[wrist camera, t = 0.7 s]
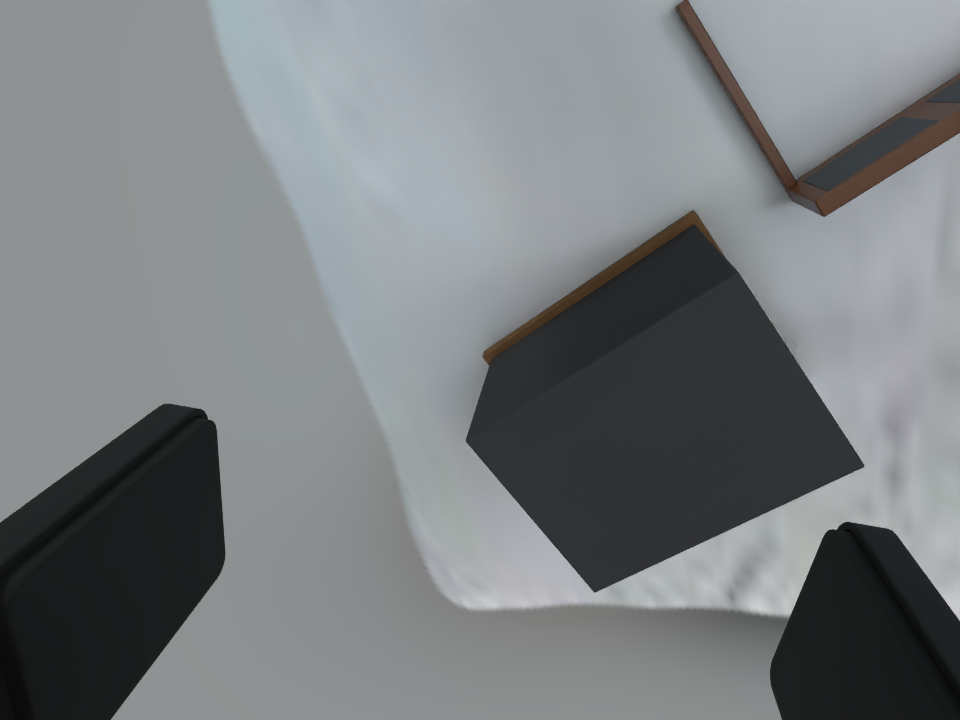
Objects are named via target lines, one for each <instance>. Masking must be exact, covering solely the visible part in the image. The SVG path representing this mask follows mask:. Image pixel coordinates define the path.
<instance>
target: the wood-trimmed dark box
mask: <svg viewBox="0 0 960 720" xmlns="http://www.w3.org/2000/svg"><path fill="white" fill-rule="evenodd" d="M483 358H484V360H485V361H486V362H487V363H488V365H489V369H488V372H487V375H486V378H485V381H484V385H483V388H482V391H481V394H480V397H479V400H478V404H477V407H476V410H475V413H474V416H473V419H472V422H471V426H470V429H469V432H468V435H467V438H466V442H467V443H468V445H469V446H470V447H471V448H472V449H473V450H474V452H475V453H476V454H477V455H478V456H479V457H480V459H481V460H482V461H483V462H484V463H485V464H486V466H487V467H488V468H489V469H490V470H491V472H492V473H493V474H494V475H495V476H496V477H497V479H498V480H499V481H500V482H501V483H502V484H503V486H504V487H505V488H506V489H507V490H508V492H509V493H510V494H511V495H512V496H513V497H514V499H515V500H516V501H517V502H518V503H519V504H520V506H521V507H522V508H523V509H524V510H525V511H526V513H527V514H528V515H529V516H530V517H531V519H532V520H533V521H534V522H535V523H536V524H537V526H538V527H539V528H540V529H541V530H542V531H543V533H544V534H545V535H546V536H547V537H548V539H549V540H550V541H551V542H552V543H553V544H554V546H555V547H556V548H557V549H558V550H559V551H560V553H561V554H562V555H563V556H564V557H565V559H566V560H567V561H568V562H569V563H570V564H571V566H572V567H573V568H574V569H575V570H576V571H577V573H578V574H579V575H580V576H581V577H582V578H583V580H584V581H585V582H586V583H587V584H588V586H589V587H590V588H591V589H592V590H593V591H594V592H597V591H599V590H601V589H604V588H606V587H608V586H610V585H612V584H614V583H616V582H619V581H621V580H623V579H625V578H627V577H629V576H631V575H634V574H636V573H638V572H640V571H642V570H644V569H646V568H649V567H651V566H653V565H655V564H657V563H659V562H661V561H664V560H666V559H668V558H670V557H672V556H674V555H676V554H679V553H681V552H683V551H685V550H687V549H689V548H691V547H694V546H696V545H698V544H700V543H702V542H704V541H706V540H709V539H711V538H713V537H715V536H717V535H719V534H721V533H724V532H726V531H728V530H730V529H732V528H734V527H736V526H739V525H741V524H743V523H745V522H747V521H749V520H751V519H754V518H756V517H758V516H760V515H762V514H764V513H766V512H769V511H771V510H773V509H775V508H777V507H779V506H781V505H784V504H786V503H788V502H790V501H792V500H794V499H796V498H799V497H801V496H803V495H805V494H807V493H809V492H811V491H814V490H816V489H818V488H820V487H822V486H824V485H826V484H829V483H831V482H833V481H835V480H837V479H839V478H841V477H844V476H846V475H848V474H850V473H852V472H854V471H856V470H859V469H861V468H863V467H864V464H863V462H862V461H861V459H860V458H859V456H858V455H857V453H856V451H855V450H854V448H853V447H852V445H851V444H850V442H849V441H848V439H847V438H846V436H845V435H844V433H843V432H842V430H841V429H840V427H839V425H838V424H837V422H836V421H835V419H834V418H833V416H832V415H831V413H830V412H829V410H828V409H827V407H826V406H825V404H824V403H823V401H822V399H821V398H820V396H819V395H818V393H817V392H816V390H815V389H814V387H813V386H812V384H811V383H810V381H809V380H808V378H807V377H806V375H805V373H804V372H803V370H802V369H801V367H800V366H799V364H798V363H797V361H796V360H795V358H794V357H793V355H792V354H791V352H790V351H789V349H788V347H787V346H786V344H785V343H784V341H783V340H782V338H781V337H780V335H779V334H778V332H777V331H776V329H775V328H774V326H773V324H772V323H771V321H770V320H769V318H768V317H767V315H766V314H765V312H764V311H763V309H762V308H761V306H760V305H759V303H758V302H757V300H756V298H755V297H754V295H753V294H752V292H751V291H750V289H749V288H748V286H747V285H746V283H745V282H744V280H743V279H742V277H741V276H740V274H739V272H738V271H737V270H736V269H735V268H734V267H733V266H732V265H731V264H730V263H729V261H728V260H727V259H726V258H725V256H724V255H723V253H722V252H721V250H720V249H719V247H718V246H717V244H716V243H715V241H714V239H713V238H712V236H711V235H710V233H709V232H708V230H707V229H706V227H705V226H704V224H703V223H702V221H701V220H700V218H699V217H698V215H697V214H696V212H695V211H691V212H690V213H688V214H687V215H685V216H684V217H682V218H681V219H679V220H678V221H676V222H675V223H673V224H672V225H670V226H669V227H667V228H666V229H664V230H663V231H662V232H660V233H659V234H657V235H656V236H654V237H653V238H651V239H650V240H648V241H647V242H645V243H644V244H642V245H641V246H639V247H638V248H636V249H635V250H633V251H632V252H631V253H629V254H628V255H626V256H625V257H623V258H622V259H620V260H619V261H617V262H616V263H614V264H613V265H611V266H610V267H608V268H607V269H605V270H604V271H602V272H601V273H600V274H598V275H597V276H595V277H594V278H592V279H591V280H589V281H588V282H586V283H585V284H583V285H582V286H580V287H579V288H577V289H576V290H574V291H573V292H571V293H570V294H569V295H567V296H566V297H564V298H563V299H561V300H560V301H558V302H557V303H555V304H554V305H552V306H551V307H549V308H548V309H546V310H545V311H543V312H542V313H540V314H539V315H537V316H536V317H535V318H533V319H532V320H530V321H529V322H527V323H526V324H524V325H523V326H521V327H520V328H518V329H517V330H515V331H514V332H512V333H511V334H509V335H508V336H506V337H505V338H504V339H502V340H501V341H499V342H498V343H496V344H495V345H493V346H492V347H490V348H489V349H487V350H486V351H484V354H483Z"/></svg>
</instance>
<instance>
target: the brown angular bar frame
mask: <svg viewBox="0 0 960 720" xmlns="http://www.w3.org/2000/svg"><path fill="white" fill-rule="evenodd" d="M675 9H676V11H677V12H678V14H679V16H680V17H681V19H682V21H683V22H684V24H685V26H686V27H687V29H688V30H689V32H690V34H691V35H692V37H693V39H694V40H695V42H696V44H697V45H698V47H699V49H700V50H701V52H702V54H703V55H704V57H705V58H706V60H707V62H708V63H709V65H710V67H711V68H712V70H713V72H714V73H715V75H716V77H717V78H718V80H719V82H720V83H721V85H722V86H723V88H724V90H725V91H726V93H727V95H728V96H729V98H730V100H731V101H732V103H733V105H734V106H735V108H736V110H737V111H738V113H739V114H740V116H741V118H742V119H743V121H744V123H745V124H746V126H747V128H748V129H749V131H750V133H751V134H752V136H753V138H754V139H755V141H756V142H757V144H758V146H759V147H760V149H761V151H762V152H763V154H764V156H765V157H766V159H767V161H768V162H769V164H770V166H771V167H772V169H773V170H774V172H775V174H776V175H777V177H778V179H779V180H780V182H781V184H782V185H783V187H784V188H785V190H786V192H787V193H788V195H789V197H790V198H791V200H792V201H793V202H795V203H797V204H799V205H801V206H803V207H805V208H807V209H809V210H811V211H813V212H815V213H817V214H819V215H821V216H823V217H825V216H827V215H828V214H830V213H831V212H833V211H835V210H836V209H838V208H839V207H841V206H843V205H844V204H846V203H848V202H849V201H851V200H852V199H854V198H856V197H857V196H859V195H860V194H862V193H864V192H865V191H867V190H868V189H870V188H872V187H873V186H875V185H876V184H878V183H880V182H881V181H883V180H885V179H886V178H888V177H889V176H891V175H893V174H894V173H896V172H897V171H899V170H901V169H902V168H904V167H905V166H907V165H909V164H910V163H912V162H913V161H915V160H917V159H918V158H920V157H921V156H923V155H925V154H926V153H928V152H930V151H931V150H933V149H934V148H936V147H938V146H939V145H941V144H942V143H944V142H946V141H947V140H949V139H950V138H952V137H954V136H955V135H957V134H958V133H960V74H958V75H957V76H955V77H954V78H952V79H951V80H949V81H948V82H946V83H944V84H943V85H941V86H940V87H938V88H937V89H935V90H934V91H932V92H931V93H929V94H928V95H926V96H925V97H923V98H922V99H920V100H918V101H917V102H915V103H914V104H912V105H911V106H909V107H908V108H906V109H905V110H903V111H902V112H900V113H899V114H897V115H896V116H894V117H892V118H891V119H889V120H888V121H886V122H885V123H883V124H882V125H880V126H879V127H877V128H876V129H874V130H873V131H871V132H870V133H868V134H866V135H865V136H863V137H862V138H860V139H859V140H857V141H856V142H854V143H853V144H851V145H850V146H848V147H847V148H845V149H844V150H842V151H840V152H839V153H837V154H836V155H834V156H833V157H831V158H830V159H828V160H827V161H825V162H824V163H822V164H821V165H819V166H818V167H816V168H814V169H813V170H811V171H810V172H808V173H807V174H805V175H804V176H802V177H801V178H799V179H798V180H795V178H794V177H793V175H792V173H791V172H790V170H789V168H788V167H787V165H786V163H785V162H784V160H783V158H782V157H781V155H780V153H779V152H778V150H777V148H776V147H775V145H774V143H773V142H772V140H771V138H770V137H769V135H768V133H767V132H766V130H765V128H764V127H763V125H762V123H761V121H760V120H759V118H758V116H757V115H756V113H755V111H754V110H753V108H752V106H751V105H750V103H749V101H748V100H747V98H746V96H745V95H744V93H743V91H742V90H741V88H740V86H739V85H738V83H737V81H736V80H735V78H734V76H733V75H732V73H731V71H730V70H729V68H728V66H727V65H726V63H725V61H724V60H723V58H722V56H721V55H720V53H719V51H718V50H717V48H716V46H715V45H714V43H713V41H712V40H711V38H710V36H709V35H708V33H707V31H706V30H705V28H704V26H703V25H702V23H701V21H700V20H699V18H698V16H697V15H696V13H695V11H694V10H693V8H692V6H691V5H690V3H689V1H688V0H684V1H683V2H681V3H680V4H679V5H678V6H676V8H675Z"/></svg>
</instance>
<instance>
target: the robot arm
mask: <svg viewBox="0 0 960 720" xmlns="http://www.w3.org/2000/svg"><path fill="white" fill-rule="evenodd" d="M224 561H225V543H224V528H223V513H222V499H221V485H220V471H219V456H218V442H217V430H216V425H215V423H214V422H213V421H211V420H208V417H207V415H206V413H205V412H204V411H203V410H201V409H196V408H190V407H185V406H179V405H174V404H163V405H161V406H159V407H158V408H157V409H155V410H154V411H152V412H151V413H150V414H148V415H147V416H146V417H145V418H143V419H142V420H140V421H139V422H137V423H136V424H135V425H133V426H132V427H131V428H129V429H128V430H126V431H125V432H124V433H122V434H121V435H120V436H118V437H117V438H116V439H114V440H113V441H111V442H110V443H109V444H108V445H106V446H105V447H103V448H102V449H100V450H99V451H98V452H96V453H95V454H94V455H92V456H91V457H90V458H88V459H87V460H85V461H84V462H83V463H81V464H80V465H79V466H77V467H76V468H74V469H73V470H72V471H70V472H69V473H68V474H66V475H65V476H63V477H62V478H61V479H60V480H58V481H57V482H55V483H54V484H53V485H51V486H50V487H48V488H47V489H46V490H44V491H43V492H42V493H40V494H39V495H37V496H36V497H35V498H33V499H32V500H31V501H29V502H28V503H27V504H25V505H24V506H22V507H21V508H20V509H18V510H17V511H16V512H14V513H13V514H11V515H10V516H9V517H8V518H6V519H5V520H3V521H2V522H1V523H0V720H111V718H112V717H113V716H114V714H115V713H116V712H117V710H118V709H119V708H120V706H121V705H122V704H123V703H124V701H125V700H126V698H127V697H128V696H129V695H130V693H131V692H132V691H133V689H134V688H135V687H136V685H137V684H138V683H139V681H140V680H141V679H142V677H143V676H144V675H145V673H146V672H147V671H148V669H149V668H150V667H151V665H152V664H153V663H154V661H155V660H156V659H157V657H158V656H159V655H160V653H161V652H162V651H163V650H164V648H165V647H166V646H167V644H168V643H169V642H170V640H171V639H172V638H173V636H174V635H175V633H176V632H177V631H178V630H179V628H180V627H181V626H182V624H183V623H184V622H185V620H186V619H187V618H188V616H189V615H190V614H191V612H192V611H193V610H194V608H195V607H196V606H197V604H198V603H199V602H200V601H201V599H202V598H203V596H204V595H205V594H206V593H207V591H208V590H209V589H210V587H211V586H212V585H213V583H214V582H215V580H216V579H217V578H218V576H219V574H220V573H221V570H222V567H223V565H224ZM770 680H771V686H772V690H773V693H774V696H775V699H776V702H777V705H778V708H779V711H780V714H781V718H782V720H960V621H959V619H958V618H957V617H956V615H955V614H954V613H953V611H952V610H951V609H950V607H949V606H948V604H947V603H946V602H945V600H944V599H943V598H942V596H941V595H940V594H939V592H938V591H937V589H936V588H935V587H934V585H933V584H932V583H931V581H930V580H929V579H928V577H927V576H926V574H925V573H924V572H923V570H922V569H921V568H920V566H919V565H918V564H917V562H916V561H915V559H914V558H913V557H912V555H911V554H910V553H909V551H908V550H907V549H906V547H905V546H904V545H903V543H902V542H901V540H900V539H899V538H898V536H897V535H896V534H895V533H894V532H893V531H892V530H889V529H886V528H880V527H875V526H869V525H863V524H857V523H852V522H845V523H843V524H841V525H840V526H839V527H838V529H837V530H833V529H832V530H828V531H827V532H826V533H825V535H824V537H823V539H822V541H821V544H820V546H819V549H818V551H817V553H816V556H815V558H814V561H813V563H812V566H811V568H810V570H809V573H808V575H807V578H806V580H805V582H804V585H803V587H802V590H801V592H800V594H799V597H798V599H797V602H796V604H795V607H794V609H793V611H792V614H791V616H790V619H789V621H788V624H787V626H786V629H785V631H784V633H783V635H782V638H781V640H780V643H779V645H778V647H777V650H776V652H775V655H774V657H773V660H772V663H771V669H770Z"/></svg>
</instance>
